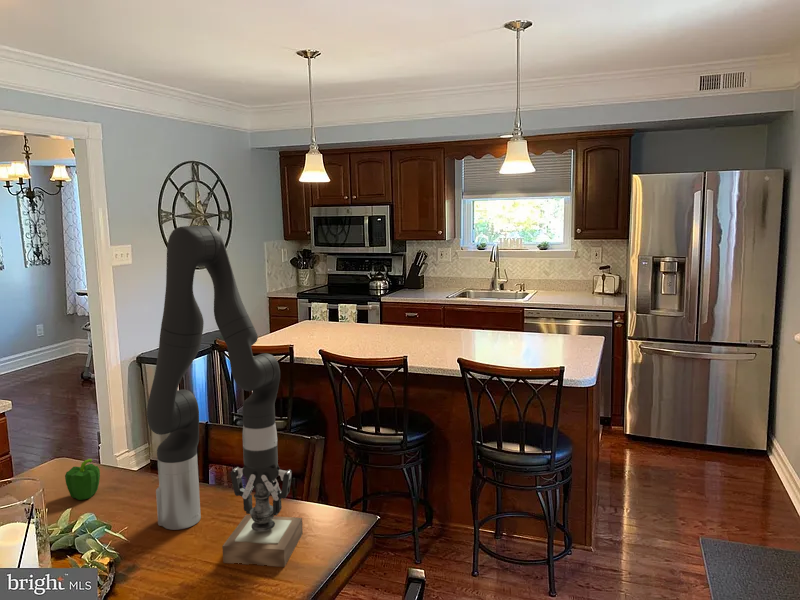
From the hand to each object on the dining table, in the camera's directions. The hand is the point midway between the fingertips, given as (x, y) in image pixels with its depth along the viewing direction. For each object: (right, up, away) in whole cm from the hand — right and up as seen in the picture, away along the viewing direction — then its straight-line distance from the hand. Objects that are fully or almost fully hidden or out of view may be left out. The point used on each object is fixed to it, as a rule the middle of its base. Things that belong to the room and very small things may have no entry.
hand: (262, 512), depth 139 cm
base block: (0, -8, +1) cm, 9 cm away
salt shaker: (0, -3, 0) cm, 3 cm away
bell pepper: (-55, -5, +27) cm, 62 cm away
